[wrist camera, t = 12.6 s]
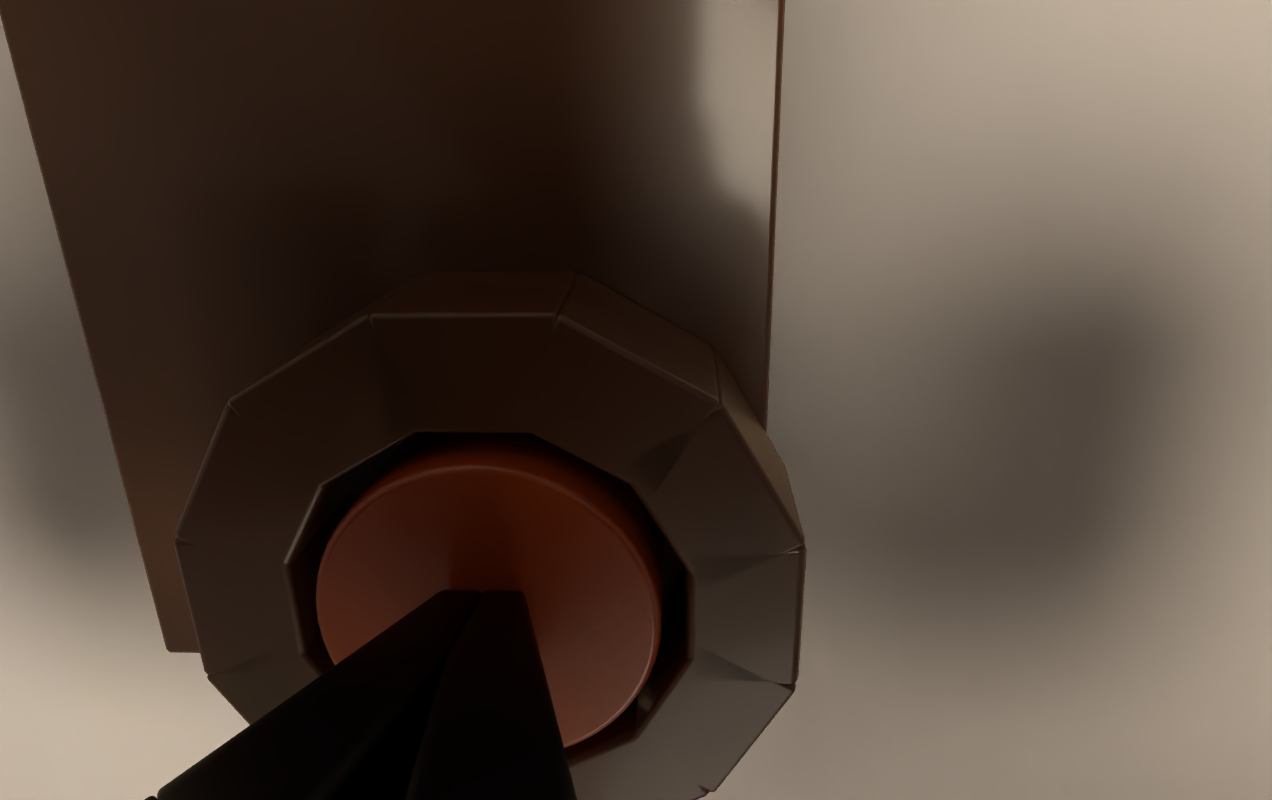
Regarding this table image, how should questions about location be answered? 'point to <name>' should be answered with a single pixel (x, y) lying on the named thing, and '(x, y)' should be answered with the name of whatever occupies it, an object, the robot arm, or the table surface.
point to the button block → (432, 305)
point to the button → (507, 560)
